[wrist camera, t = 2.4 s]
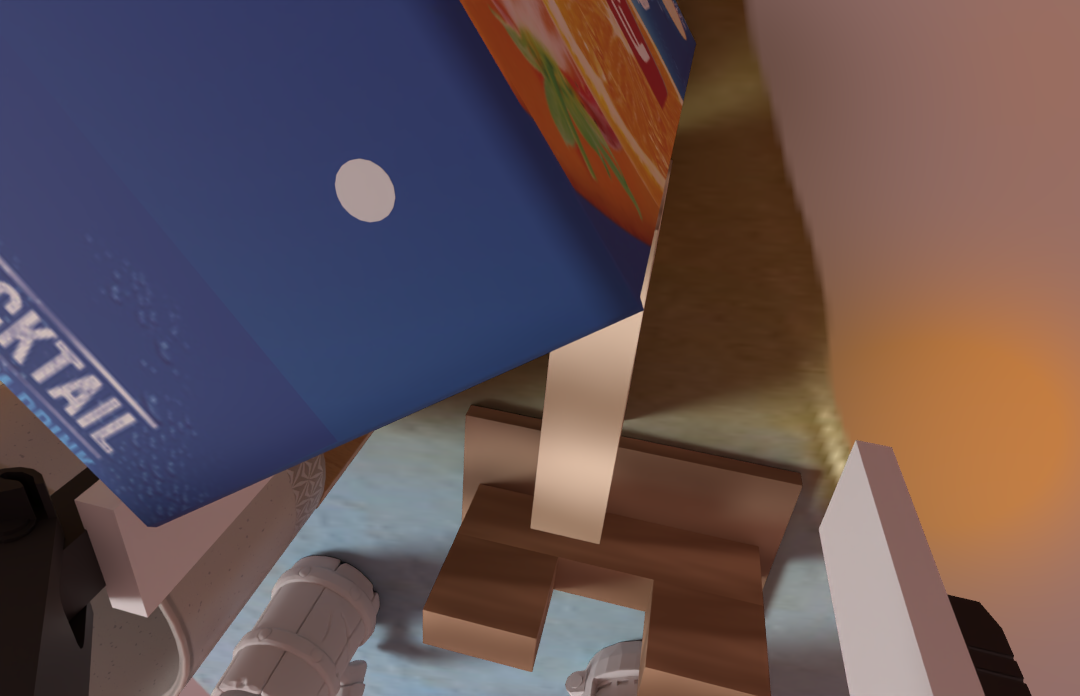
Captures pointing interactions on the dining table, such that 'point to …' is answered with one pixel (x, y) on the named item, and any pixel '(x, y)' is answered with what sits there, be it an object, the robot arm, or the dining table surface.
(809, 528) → the dining table surface
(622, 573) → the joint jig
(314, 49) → the juice carton
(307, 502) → the planter
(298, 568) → the mug
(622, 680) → the lantern
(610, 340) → the notched wooden board
